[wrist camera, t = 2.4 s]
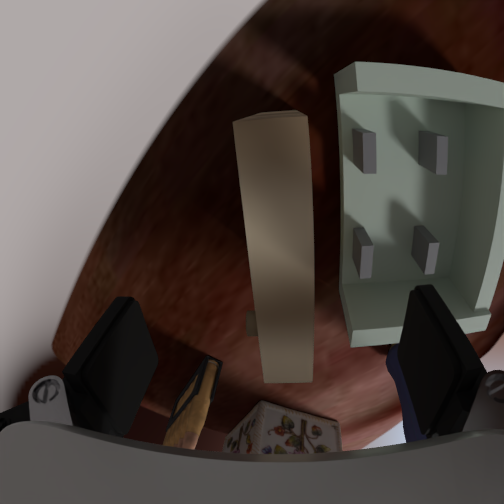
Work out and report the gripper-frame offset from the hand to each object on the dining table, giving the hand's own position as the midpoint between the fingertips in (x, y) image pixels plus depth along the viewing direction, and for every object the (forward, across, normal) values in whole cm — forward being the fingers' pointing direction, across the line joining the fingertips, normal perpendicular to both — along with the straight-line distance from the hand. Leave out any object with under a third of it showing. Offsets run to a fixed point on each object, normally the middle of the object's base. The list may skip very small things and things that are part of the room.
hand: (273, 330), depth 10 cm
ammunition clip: (+15, +10, +20) cm, 27 cm away
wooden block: (+14, 0, -1) cm, 14 cm away
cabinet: (+14, -10, -1) cm, 17 cm away
